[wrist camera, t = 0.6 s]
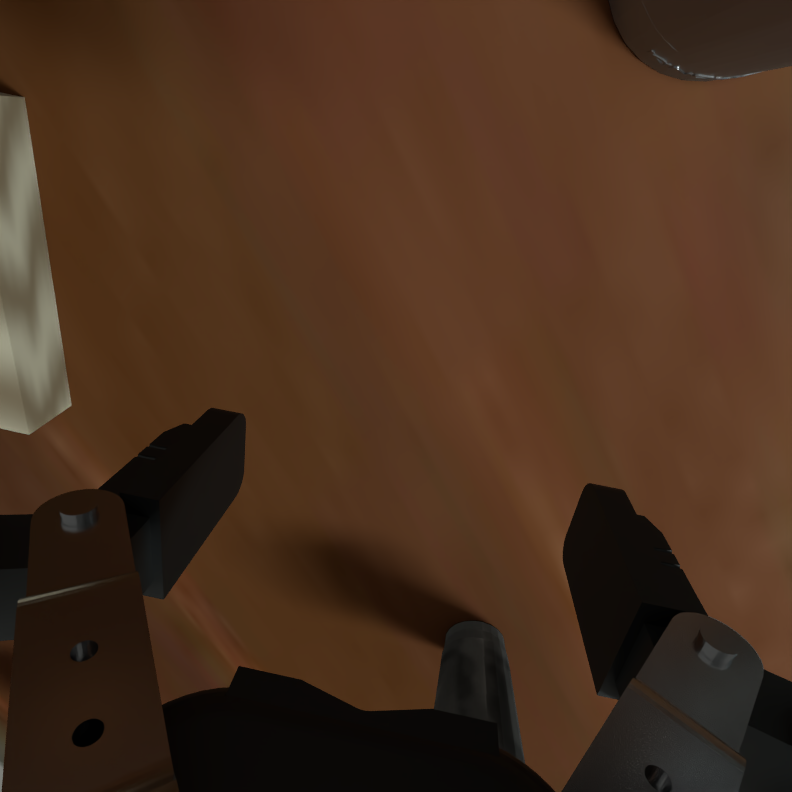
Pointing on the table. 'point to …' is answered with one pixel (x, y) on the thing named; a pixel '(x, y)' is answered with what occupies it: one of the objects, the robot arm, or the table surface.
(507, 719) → the beverage cup
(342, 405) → the table surface
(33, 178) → the slat
